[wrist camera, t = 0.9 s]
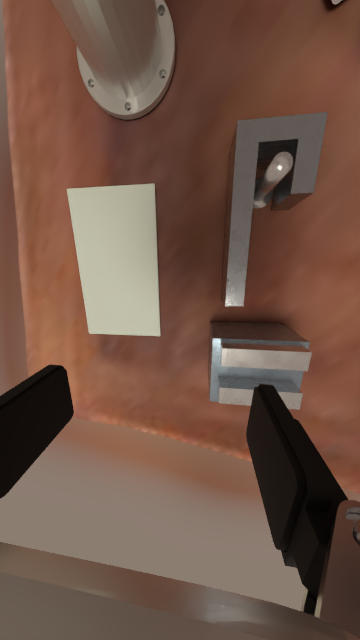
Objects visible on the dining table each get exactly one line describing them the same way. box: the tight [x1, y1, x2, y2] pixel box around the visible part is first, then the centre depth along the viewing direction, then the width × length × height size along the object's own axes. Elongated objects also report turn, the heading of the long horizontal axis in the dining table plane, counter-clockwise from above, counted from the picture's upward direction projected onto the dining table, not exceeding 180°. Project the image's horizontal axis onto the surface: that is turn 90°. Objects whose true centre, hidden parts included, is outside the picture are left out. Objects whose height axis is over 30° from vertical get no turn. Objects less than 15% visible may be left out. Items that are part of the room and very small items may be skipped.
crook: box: [221, 112, 328, 306], centre depth 24 cm, size 20×9×6 cm, turn 0°
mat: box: [67, 184, 161, 336], centre depth 31 cm, size 24×14×1 cm, turn 0°
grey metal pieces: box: [208, 152, 312, 409], centre depth 25 cm, size 32×12×10 cm, turn 0°
